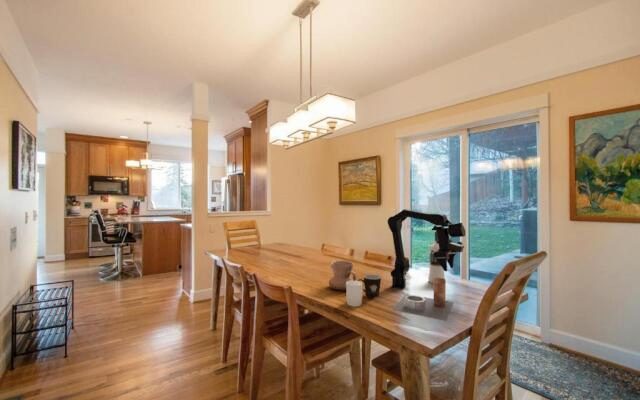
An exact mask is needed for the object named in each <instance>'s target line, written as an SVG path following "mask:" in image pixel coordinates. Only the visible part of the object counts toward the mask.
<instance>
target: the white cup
mask: <svg viewBox="0 0 640 400" xmlns="http://www.w3.org/2000/svg"><path fill="white" fill-rule="evenodd" d="M363 285H364V282H363V281H361V280H360V281H357V280H355V281H347V282H346V290H345V291H346V293H345V294H346V305H347V306H349V307H350V306H351V307H354V308H355V307H356V308H357V307H361V306H362V301H363V291H364V290H363V289H364V288H363V287H364V286H363Z"/></svg>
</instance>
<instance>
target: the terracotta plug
mask: <svg viewBox="0 0 640 400" xmlns="http://www.w3.org/2000/svg"><path fill="white" fill-rule="evenodd" d="M446 280H447V279H446V278H445V279H443V278H434V284H433V299H434V306H435V307H439V308H444V307H445V301H446Z"/></svg>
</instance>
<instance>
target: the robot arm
mask: <svg viewBox="0 0 640 400" xmlns="http://www.w3.org/2000/svg"><path fill="white" fill-rule="evenodd" d="M408 218H411V219H416V220H421V221H425V222H429V223H430V224H431V225H434V226H432V228H431V231H432V232H433V231H435V232H436V234H437V239H438V241H436V242H437V243H438V245H439V249H438V251H436V252H434V254H433V255H434V258H435V259H436V260H437V261H438V262H439V264H440V265H441V266H442V268H443V269H444V272H448V266H449V267H450V269H454V262H455V257H456V256H457V254H458V253H462V252H463V251H464V248H465V245H464V244H463V241H457V242H453V240H452V239H450V237H451V238H462V237H463V238H464V237H466V228H465V227H464V224H463V222H457V223H453V222H451V220H449V219H448V216H447V215H446V214H444V213H428V212H422V211H416V210H411V209H409V208H405V209H403V210H401V211H400V212H399V213H398V212H397V213H396V214H394V215H393V216H390V217H389V218H388V219H387V224H388V225H387V226H388V229H389V230H390V232H391V233H392V240H393V246H394V255H395V260H394V268H393V270H391V272H390V277H392V279H391V280H392V281H391V285H390V286H391V287H392V288H395V289H396V288H397V289H404V288H405V287H406V286H407V281H406V280H407V279H406V275H407V273H408V272H409V270H410V268H411V265H410V260H409V259H407V258H406V257H405V251H404V244H403V239H402V238H403V237H402V228H403V222H404V221H406V220H407V219H408Z"/></svg>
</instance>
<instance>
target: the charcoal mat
mask: <svg viewBox="0 0 640 400" xmlns="http://www.w3.org/2000/svg"><path fill="white" fill-rule="evenodd" d="M409 295H410V294H405V295H404V296H403V297H402V298H401V299H400V300H399V301H398V302H397V304H396V305H395V306H394V307H393V308H392V309H391V310H392V311H396V312H401V313H407V314H412V315H416V316H420V317H421V316H422V317H426V318H431V319H436V320H441V321H447V319H448V317H449V315H450V313H451V310H452V308H453V304H454V302H452V301H448V300H445V307H444V308H439V307H435V306H434V298H431V297H426V296H424V297H423V296H422V297H423V298H425V310H423V311H413V310H409V309H407V308H406V307H405V297H406V296H409Z"/></svg>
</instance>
